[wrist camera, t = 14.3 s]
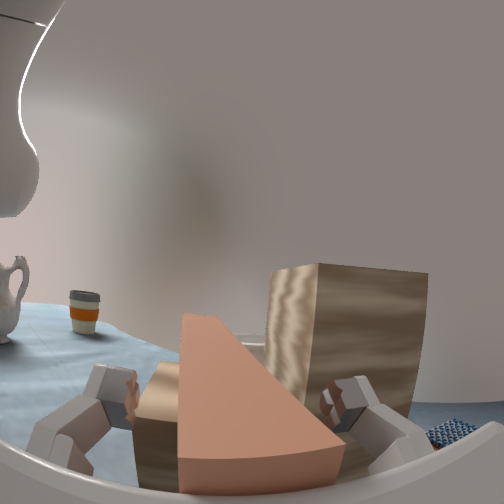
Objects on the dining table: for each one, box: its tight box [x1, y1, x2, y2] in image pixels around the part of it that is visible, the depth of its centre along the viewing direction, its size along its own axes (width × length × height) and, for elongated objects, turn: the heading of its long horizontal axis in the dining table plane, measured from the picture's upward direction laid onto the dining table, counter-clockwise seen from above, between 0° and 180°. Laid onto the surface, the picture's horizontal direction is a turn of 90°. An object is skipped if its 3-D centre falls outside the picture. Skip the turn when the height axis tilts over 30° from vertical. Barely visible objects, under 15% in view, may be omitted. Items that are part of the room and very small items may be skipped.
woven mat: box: [425, 419, 479, 451], centre depth 27 cm, size 10×11×2 cm
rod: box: [178, 314, 346, 496], centre depth 18 cm, size 28×4×4 cm, turn 13°
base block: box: [132, 361, 180, 493], centre depth 18 cm, size 12×10×16 cm
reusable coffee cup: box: [69, 290, 100, 334], centre depth 90 cm, size 13×13×15 cm
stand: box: [263, 263, 428, 484], centre depth 28 cm, size 16×12×26 cm
